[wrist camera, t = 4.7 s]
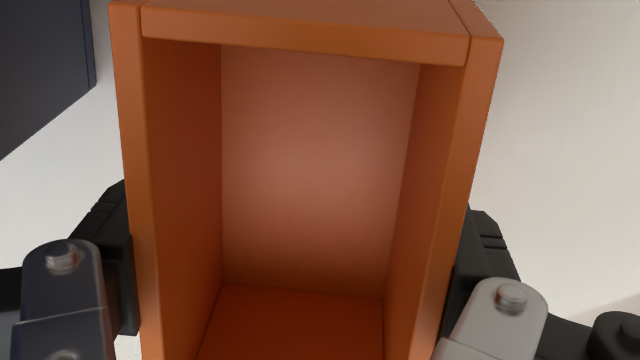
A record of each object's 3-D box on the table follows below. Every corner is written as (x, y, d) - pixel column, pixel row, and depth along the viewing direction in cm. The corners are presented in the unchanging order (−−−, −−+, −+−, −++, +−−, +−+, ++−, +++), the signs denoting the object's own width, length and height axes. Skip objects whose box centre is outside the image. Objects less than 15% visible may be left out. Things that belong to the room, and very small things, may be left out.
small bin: (453, -24, 14) (506, 39, 8) (396, 301, 18) (407, 472, 13) (205, -47, 14) (105, 2, 9) (210, 281, 19) (149, 443, 13)
